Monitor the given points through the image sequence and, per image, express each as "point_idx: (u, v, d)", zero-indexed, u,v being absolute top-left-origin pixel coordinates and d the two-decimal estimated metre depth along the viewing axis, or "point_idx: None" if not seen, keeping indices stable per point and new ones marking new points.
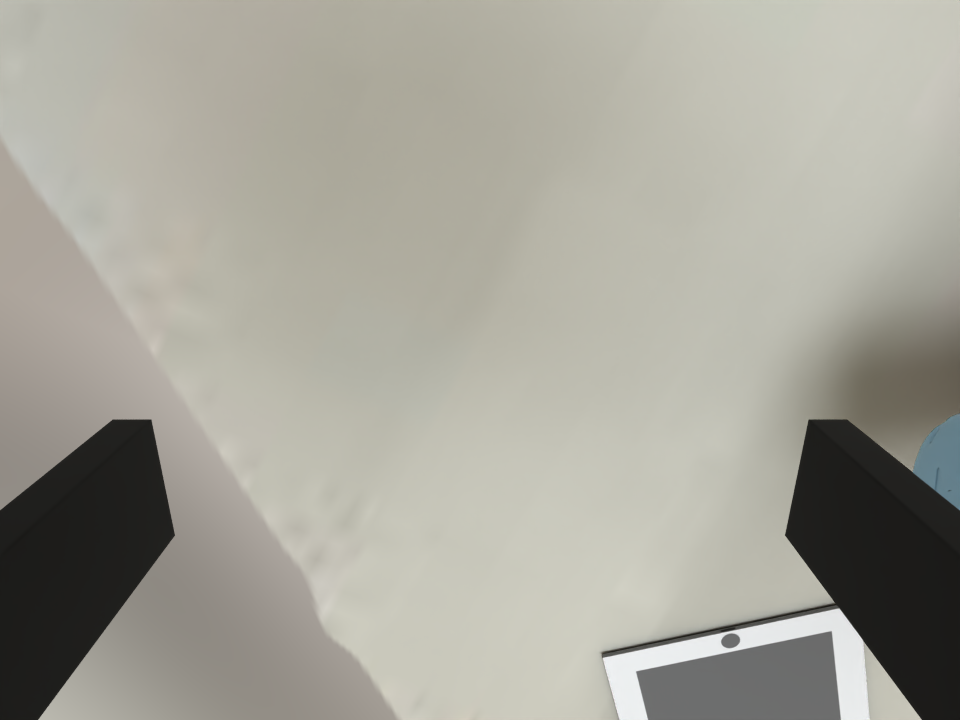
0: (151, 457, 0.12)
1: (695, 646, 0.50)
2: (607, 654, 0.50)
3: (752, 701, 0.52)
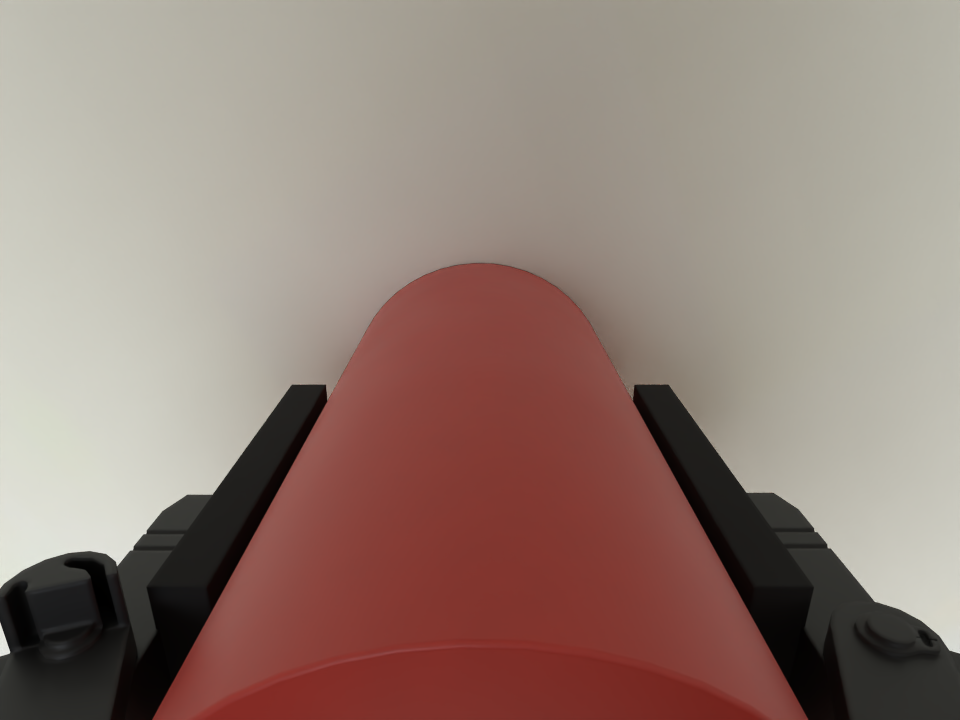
0: None
1: None
2: None
3: None
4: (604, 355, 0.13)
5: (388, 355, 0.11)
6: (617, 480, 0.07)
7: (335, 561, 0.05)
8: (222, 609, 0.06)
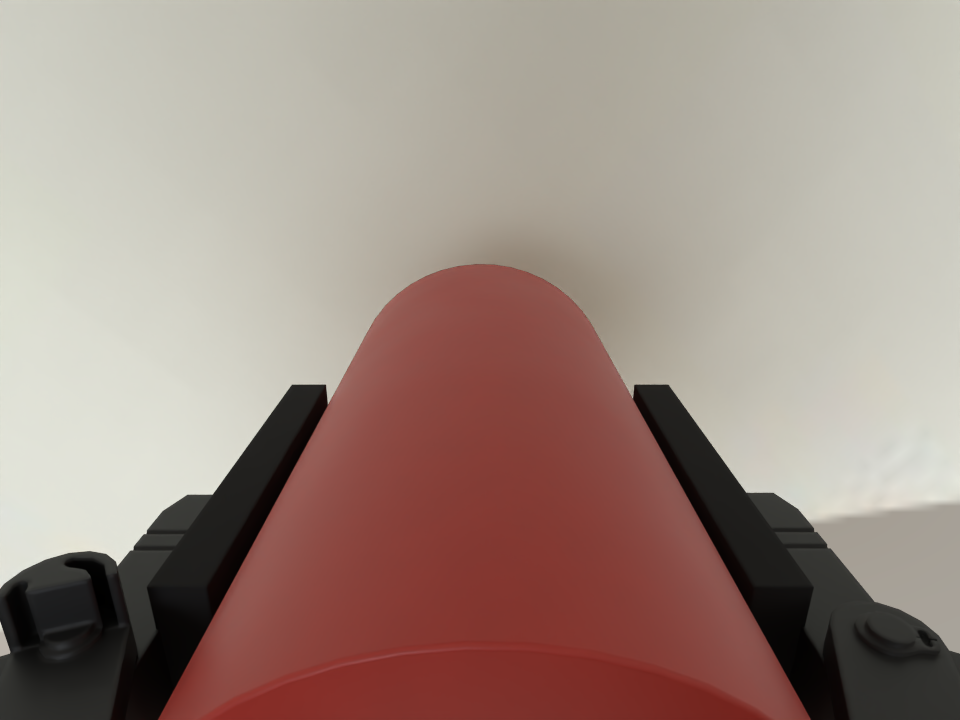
0: None
1: None
2: None
3: None
4: (606, 356, 0.13)
5: (390, 356, 0.11)
6: (620, 481, 0.07)
7: (341, 562, 0.06)
8: (226, 611, 0.06)
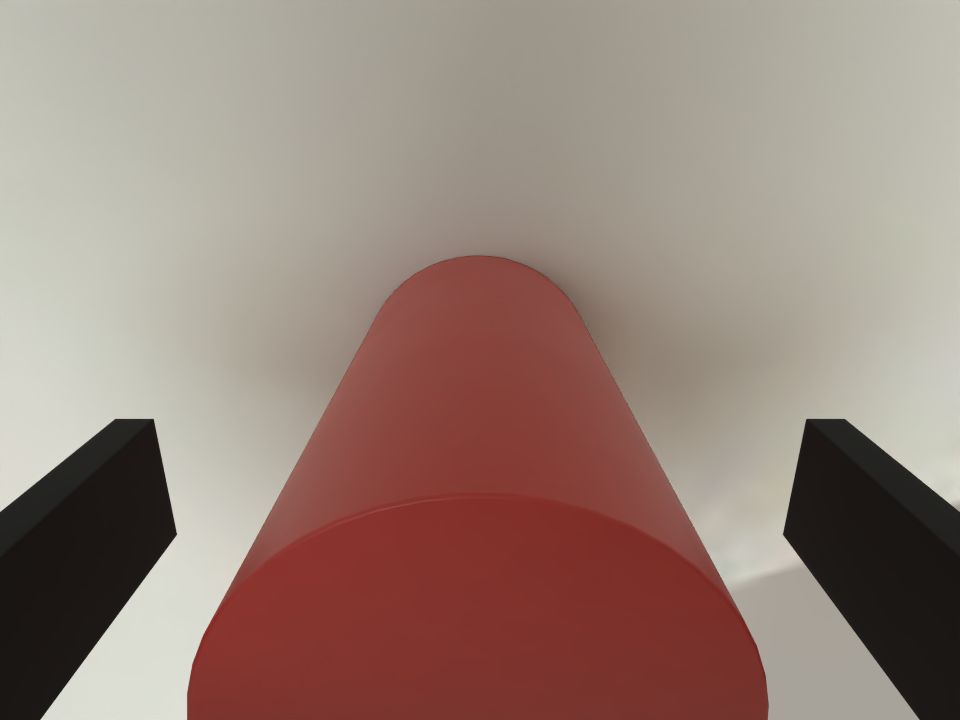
0: (152, 456, 0.12)
1: None
2: None
3: None
4: (586, 333, 0.15)
5: (400, 328, 0.13)
6: (584, 412, 0.09)
7: (371, 458, 0.07)
8: (282, 503, 0.08)
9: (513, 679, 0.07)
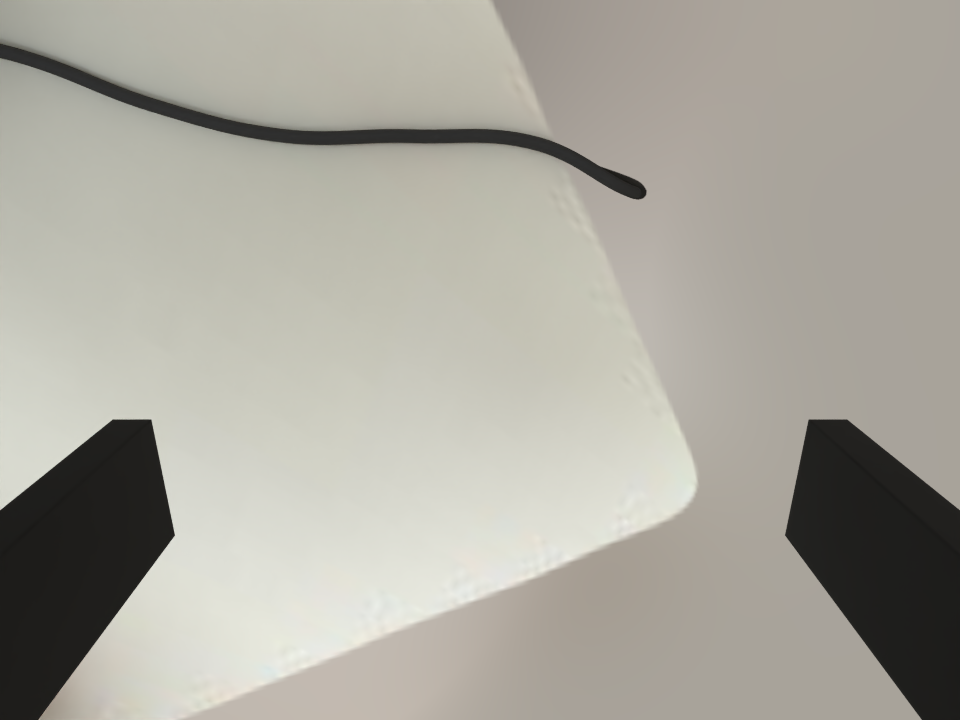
0: (150, 457, 0.12)
1: None
2: None
3: None
4: None
5: None
6: None
7: None
8: None
9: None
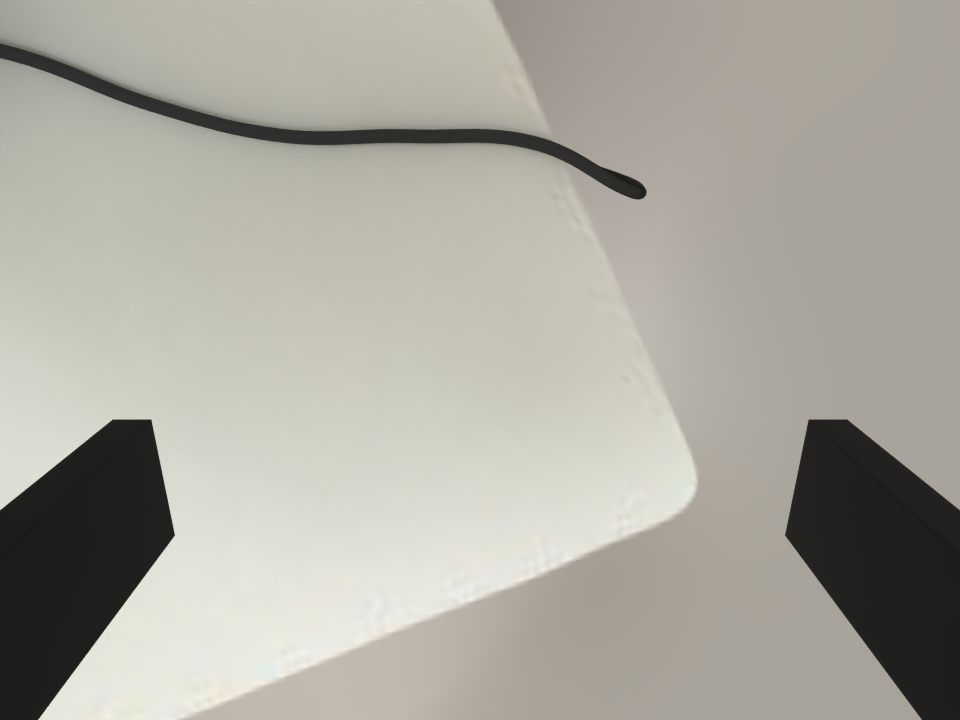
0: (150, 457, 0.12)
1: None
2: None
3: None
4: None
5: None
6: None
7: None
8: None
9: None
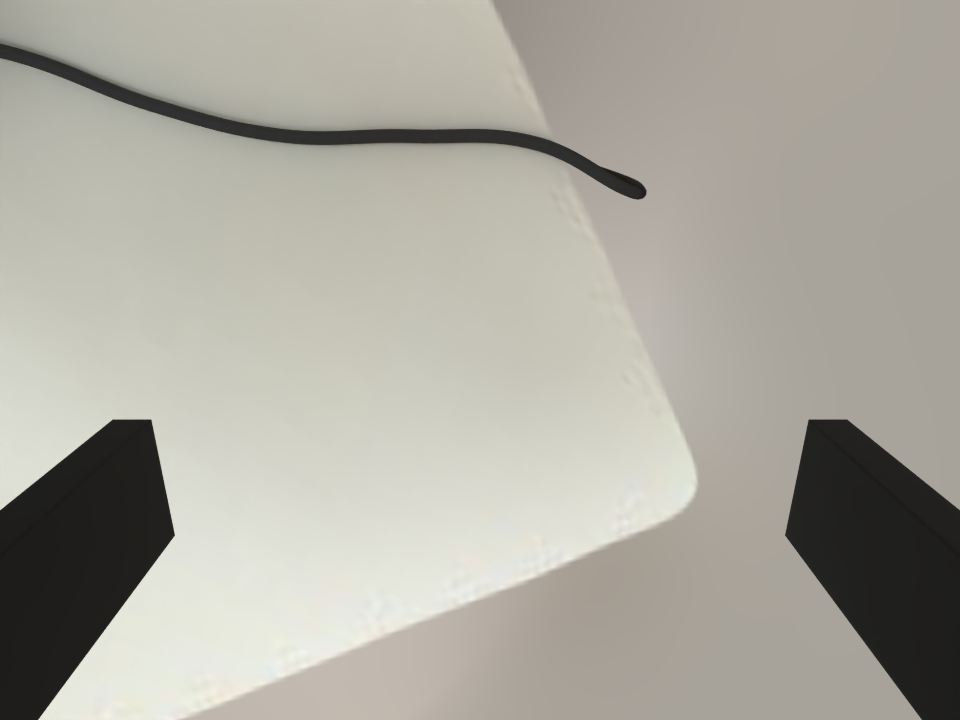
0: (150, 457, 0.12)
1: None
2: None
3: None
4: None
5: None
6: None
7: None
8: None
9: None
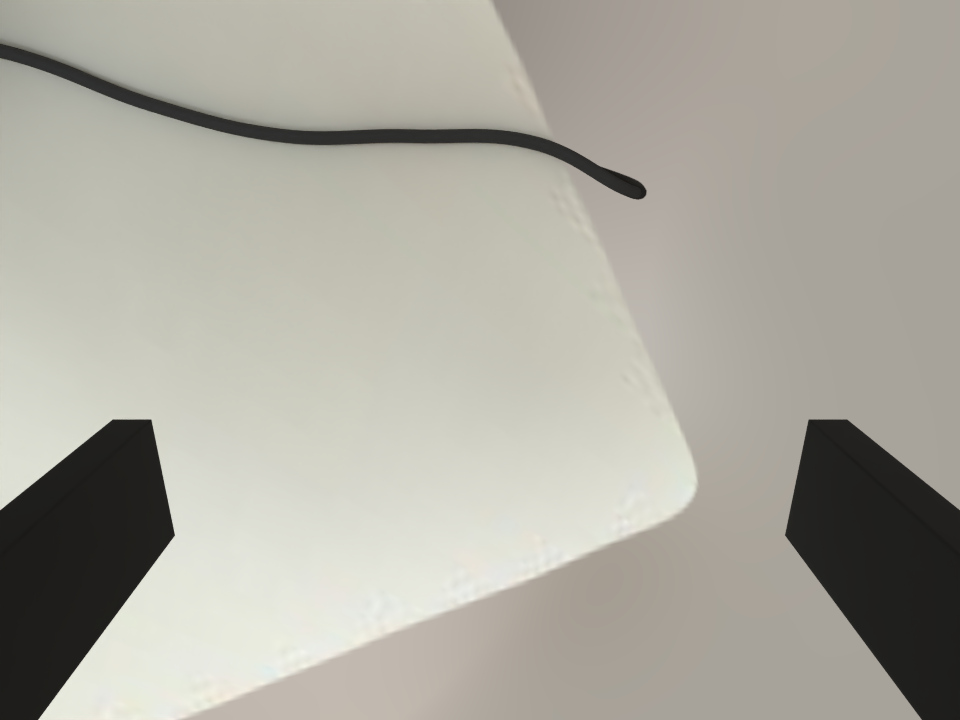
0: (150, 457, 0.12)
1: None
2: None
3: None
4: None
5: None
6: None
7: None
8: None
9: None
